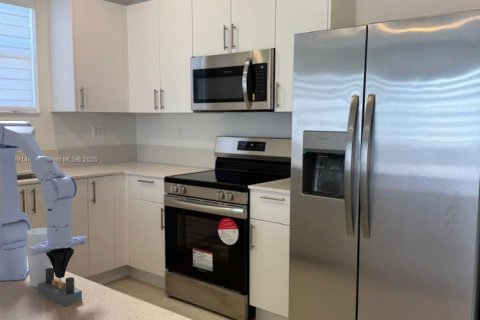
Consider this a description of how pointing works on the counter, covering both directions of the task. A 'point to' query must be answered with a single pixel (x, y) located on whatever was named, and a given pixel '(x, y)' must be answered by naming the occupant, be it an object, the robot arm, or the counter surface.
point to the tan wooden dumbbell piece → (59, 283)
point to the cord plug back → (49, 275)
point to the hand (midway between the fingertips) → (59, 276)
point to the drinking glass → (41, 260)
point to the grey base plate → (59, 294)
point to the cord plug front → (69, 285)
